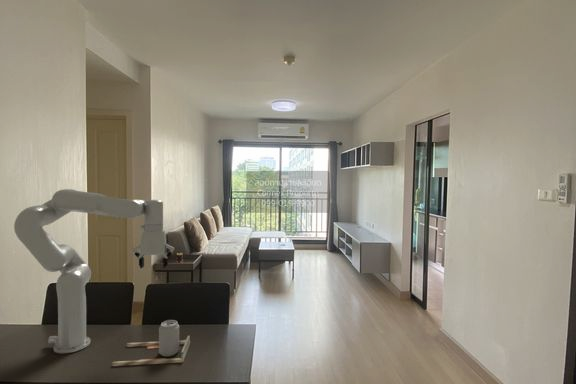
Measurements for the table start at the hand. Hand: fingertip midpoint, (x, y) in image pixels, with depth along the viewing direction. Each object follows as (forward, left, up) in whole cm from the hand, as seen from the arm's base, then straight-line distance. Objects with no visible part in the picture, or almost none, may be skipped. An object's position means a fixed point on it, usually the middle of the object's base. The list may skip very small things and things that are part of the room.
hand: (153, 267), depth 141 cm
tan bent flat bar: (+4, -15, -30) cm, 34 cm away
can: (+10, -15, -31) cm, 36 cm away
